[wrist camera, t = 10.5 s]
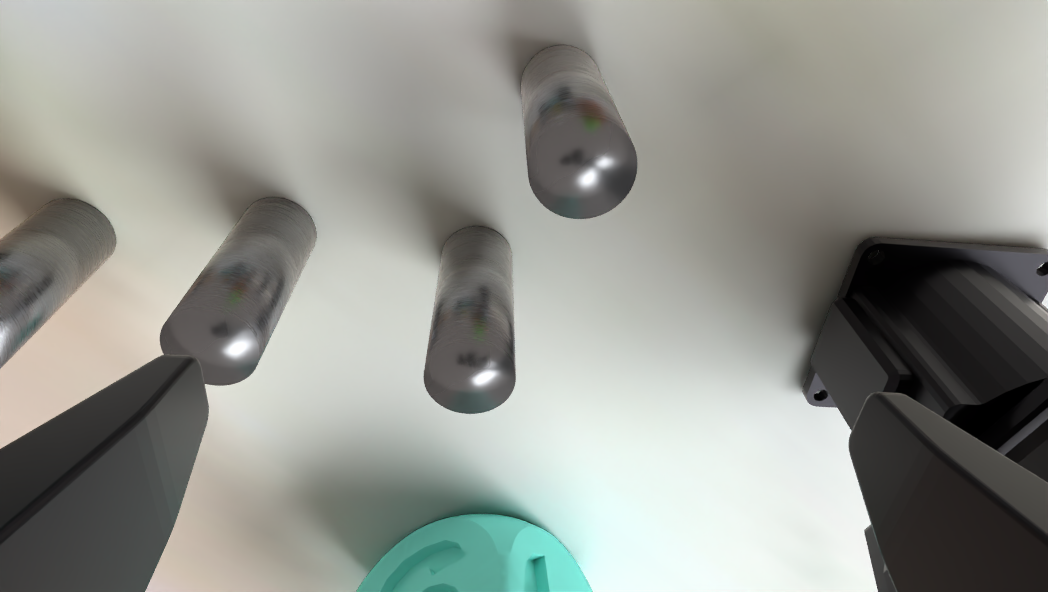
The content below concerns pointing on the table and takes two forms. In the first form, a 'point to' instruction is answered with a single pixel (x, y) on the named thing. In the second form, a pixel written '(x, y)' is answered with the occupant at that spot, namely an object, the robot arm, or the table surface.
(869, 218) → the table surface
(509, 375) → the spacer field
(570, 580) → the decorative dice
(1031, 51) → the table surface
